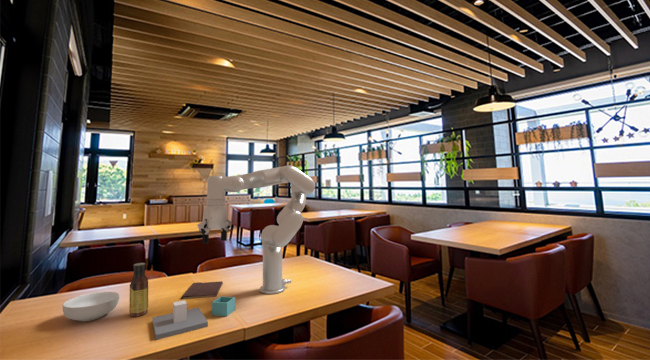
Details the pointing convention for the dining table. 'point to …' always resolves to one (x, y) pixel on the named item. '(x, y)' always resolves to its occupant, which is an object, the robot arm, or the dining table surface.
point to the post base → (178, 327)
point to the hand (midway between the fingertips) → (214, 242)
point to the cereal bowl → (90, 306)
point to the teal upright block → (223, 306)
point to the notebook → (202, 290)
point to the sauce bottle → (138, 291)
